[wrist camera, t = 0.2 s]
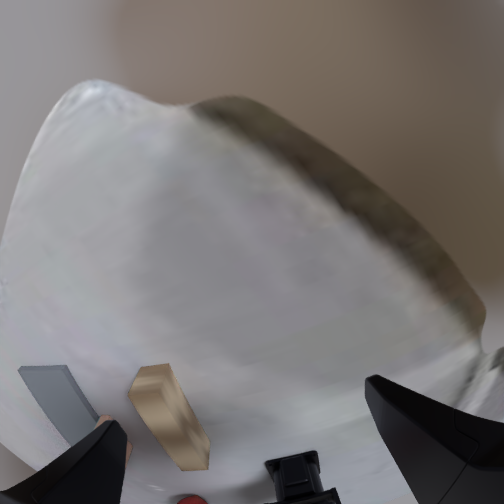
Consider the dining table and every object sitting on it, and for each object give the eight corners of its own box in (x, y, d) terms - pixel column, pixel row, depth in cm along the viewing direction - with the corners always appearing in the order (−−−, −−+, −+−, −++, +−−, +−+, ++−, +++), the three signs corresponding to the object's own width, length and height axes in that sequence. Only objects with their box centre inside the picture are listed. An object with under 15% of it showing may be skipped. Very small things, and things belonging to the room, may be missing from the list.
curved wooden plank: (210, 440, 26) (208, 469, 22) (186, 442, 26) (181, 470, 22) (169, 362, 23) (158, 392, 19) (141, 366, 23) (127, 395, 19)
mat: (126, 452, 26) (124, 458, 25) (78, 447, 26) (76, 451, 25) (66, 365, 23) (62, 369, 22) (21, 366, 23) (17, 370, 22)
